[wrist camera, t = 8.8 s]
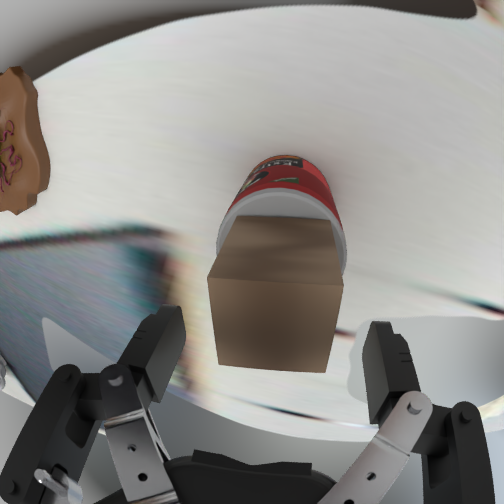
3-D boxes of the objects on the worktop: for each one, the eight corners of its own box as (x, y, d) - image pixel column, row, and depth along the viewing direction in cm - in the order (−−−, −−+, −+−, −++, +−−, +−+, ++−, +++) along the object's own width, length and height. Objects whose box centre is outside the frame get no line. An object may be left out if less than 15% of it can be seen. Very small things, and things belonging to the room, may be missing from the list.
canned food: (294, 136, 24) (293, 162, 15) (347, 207, 26) (372, 274, 17) (226, 187, 27) (187, 242, 18) (280, 250, 29) (270, 329, 20)
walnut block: (330, 220, 16) (343, 285, 11) (321, 296, 18) (325, 372, 13) (236, 215, 16) (207, 277, 11) (240, 291, 19) (218, 364, 14)
